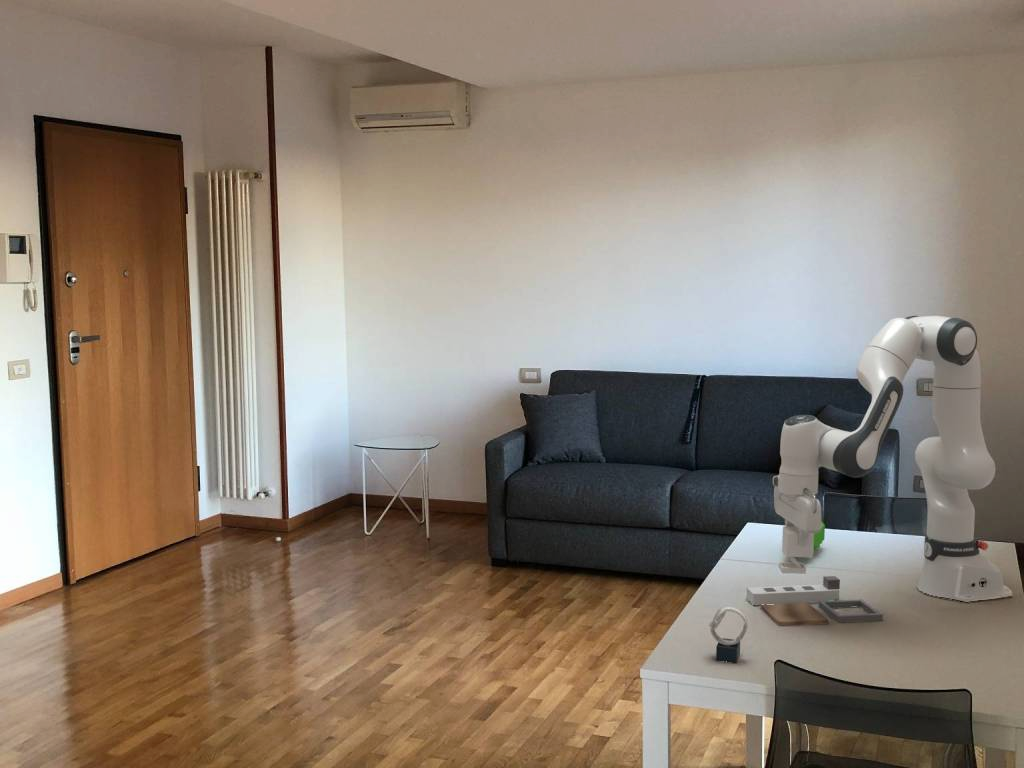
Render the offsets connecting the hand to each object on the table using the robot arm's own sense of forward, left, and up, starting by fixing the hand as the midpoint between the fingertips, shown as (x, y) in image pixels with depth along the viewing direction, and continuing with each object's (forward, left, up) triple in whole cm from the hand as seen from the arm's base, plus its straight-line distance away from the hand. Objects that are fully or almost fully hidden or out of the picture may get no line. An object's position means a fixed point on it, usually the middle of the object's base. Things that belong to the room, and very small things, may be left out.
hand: (796, 542), depth 251 cm
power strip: (-4, -9, -18) cm, 21 cm away
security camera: (0, 0, -7) cm, 7 cm away
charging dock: (-14, 0, -18) cm, 23 cm away
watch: (+24, +23, -18) cm, 38 cm away
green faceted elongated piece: (-21, -50, -18) cm, 57 cm away
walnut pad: (0, 0, -18) cm, 18 cm away
